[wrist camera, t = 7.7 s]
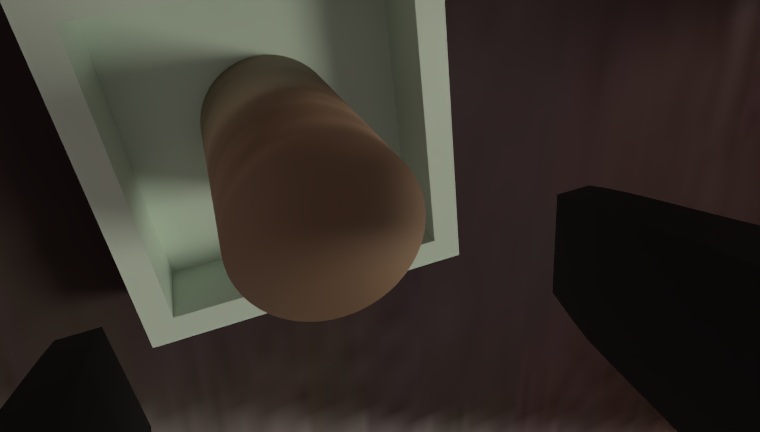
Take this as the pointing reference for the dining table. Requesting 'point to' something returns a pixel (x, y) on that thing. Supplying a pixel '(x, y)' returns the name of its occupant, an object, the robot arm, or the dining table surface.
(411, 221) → the plug
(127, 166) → the tray
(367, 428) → the dining table surface
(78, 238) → the dining table surface
